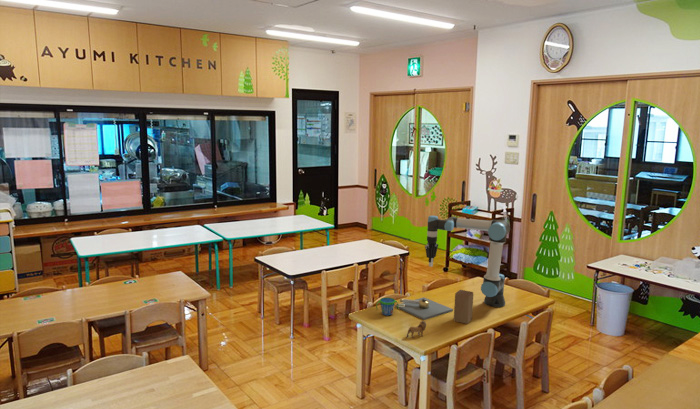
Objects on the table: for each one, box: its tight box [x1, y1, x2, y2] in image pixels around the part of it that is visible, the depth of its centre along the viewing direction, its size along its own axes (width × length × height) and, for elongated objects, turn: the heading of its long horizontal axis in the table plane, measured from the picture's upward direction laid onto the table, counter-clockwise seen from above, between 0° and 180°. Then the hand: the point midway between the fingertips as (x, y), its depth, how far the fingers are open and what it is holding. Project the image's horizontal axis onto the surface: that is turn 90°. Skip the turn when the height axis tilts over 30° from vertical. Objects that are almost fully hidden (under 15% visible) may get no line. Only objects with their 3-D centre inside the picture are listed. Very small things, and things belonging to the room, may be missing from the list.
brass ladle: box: [398, 298, 429, 308], centre depth 355 cm, size 22×7×6 cm, turn 74°
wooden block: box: [453, 289, 474, 325], centre depth 333 cm, size 10×10×20 cm
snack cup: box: [375, 297, 399, 316], centre depth 343 cm, size 16×10×10 cm
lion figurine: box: [405, 320, 427, 339], centre depth 308 cm, size 15×5×9 cm, turn 120°
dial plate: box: [394, 296, 454, 321], centre depth 354 cm, size 30×30×2 cm
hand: (430, 266), depth 376 cm, fingers closed
